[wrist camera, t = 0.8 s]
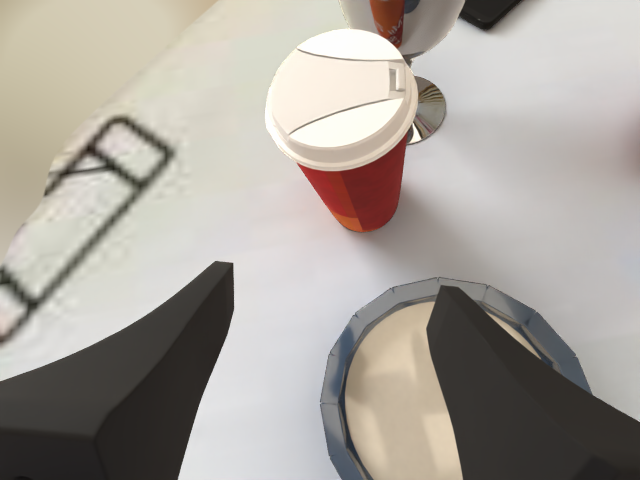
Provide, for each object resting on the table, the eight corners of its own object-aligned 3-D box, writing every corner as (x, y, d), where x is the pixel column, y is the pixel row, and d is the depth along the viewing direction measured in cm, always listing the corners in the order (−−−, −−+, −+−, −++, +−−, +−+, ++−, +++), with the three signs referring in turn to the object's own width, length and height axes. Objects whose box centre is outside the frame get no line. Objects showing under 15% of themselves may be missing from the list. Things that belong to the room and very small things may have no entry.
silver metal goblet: (387, 61, 34) (377, -146, 20) (467, 90, 31) (520, -124, 17) (341, 127, 33) (295, -42, 19) (420, 164, 30) (435, -2, 16)
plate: (576, 586, 21) (600, 618, 18) (308, 497, 25) (298, 513, 22) (581, 306, 25) (601, 301, 22) (350, 270, 29) (345, 262, 26)
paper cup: (410, 156, 30) (417, 9, 17) (412, 244, 28) (421, 151, 15) (319, 162, 32) (263, 31, 19) (315, 245, 30) (248, 162, 17)
